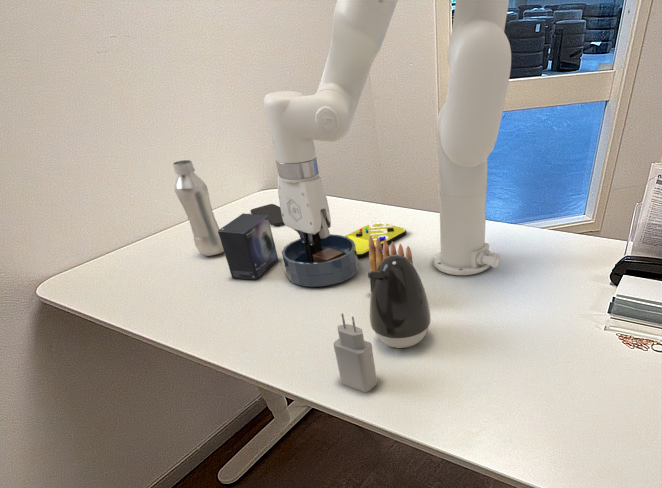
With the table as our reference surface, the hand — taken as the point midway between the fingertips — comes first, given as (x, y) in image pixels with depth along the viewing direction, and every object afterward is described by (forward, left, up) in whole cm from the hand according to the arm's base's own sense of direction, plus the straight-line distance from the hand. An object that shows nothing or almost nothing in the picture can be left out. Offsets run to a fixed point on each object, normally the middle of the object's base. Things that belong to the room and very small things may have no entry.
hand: (315, 260), depth 103 cm
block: (-4, 0, -2) cm, 5 cm away
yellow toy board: (+1, -18, -3) cm, 19 cm away
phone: (+35, -17, -3) cm, 40 cm away
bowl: (-2, 0, -3) cm, 3 cm away
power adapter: (-35, +24, -3) cm, 42 cm away
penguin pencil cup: (-33, +11, -3) cm, 34 cm away
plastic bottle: (+28, +7, -3) cm, 29 cm away
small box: (+12, +7, -3) cm, 14 cm away
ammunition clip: (-23, +1, -3) cm, 23 cm away
